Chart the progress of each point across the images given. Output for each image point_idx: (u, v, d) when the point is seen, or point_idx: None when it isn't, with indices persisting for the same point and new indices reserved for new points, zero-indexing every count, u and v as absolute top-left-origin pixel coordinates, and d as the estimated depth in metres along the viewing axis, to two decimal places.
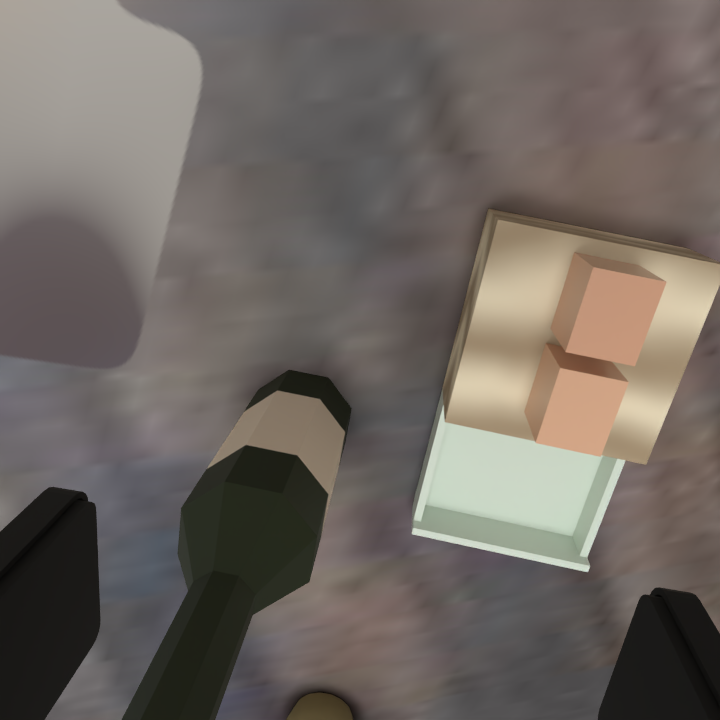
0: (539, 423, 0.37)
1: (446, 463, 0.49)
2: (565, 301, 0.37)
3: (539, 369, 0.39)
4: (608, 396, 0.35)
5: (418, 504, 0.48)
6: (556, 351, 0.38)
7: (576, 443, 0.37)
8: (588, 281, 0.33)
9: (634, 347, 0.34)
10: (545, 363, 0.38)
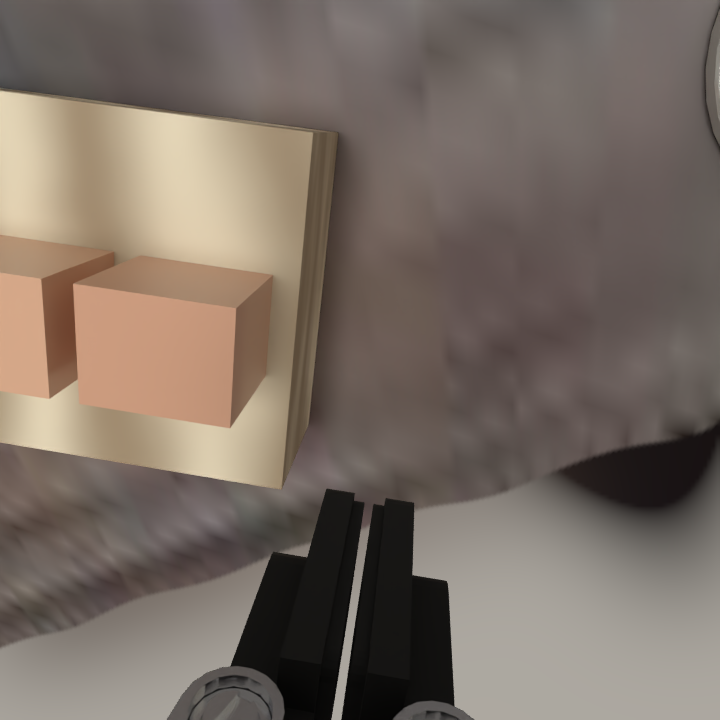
0: None
1: None
2: (183, 272, 0.21)
3: (63, 247, 0.22)
4: (14, 370, 0.19)
5: None
6: (96, 270, 0.21)
7: None
8: (209, 303, 0.18)
9: (110, 397, 0.19)
10: (69, 254, 0.21)
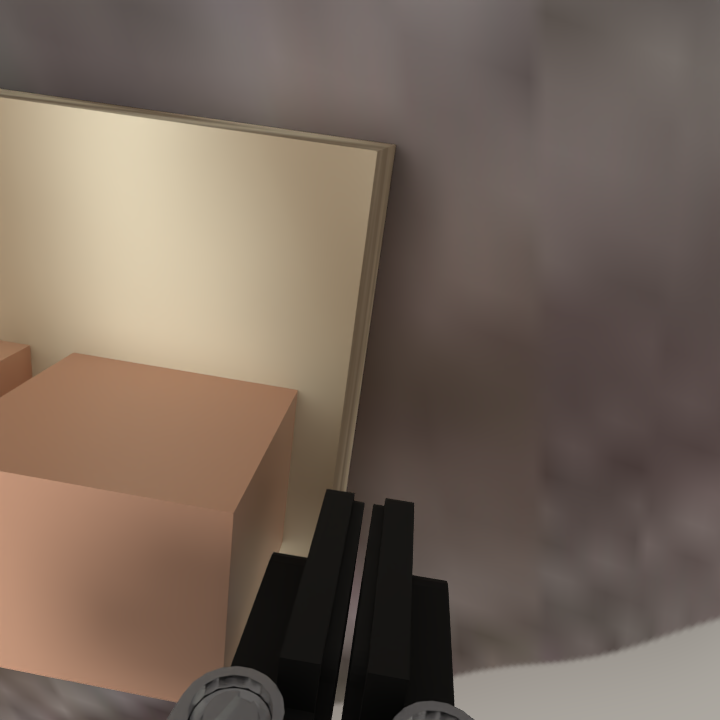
0: None
1: None
2: (141, 396, 0.12)
3: None
4: None
5: None
6: None
7: None
8: (178, 500, 0.09)
9: None
10: None
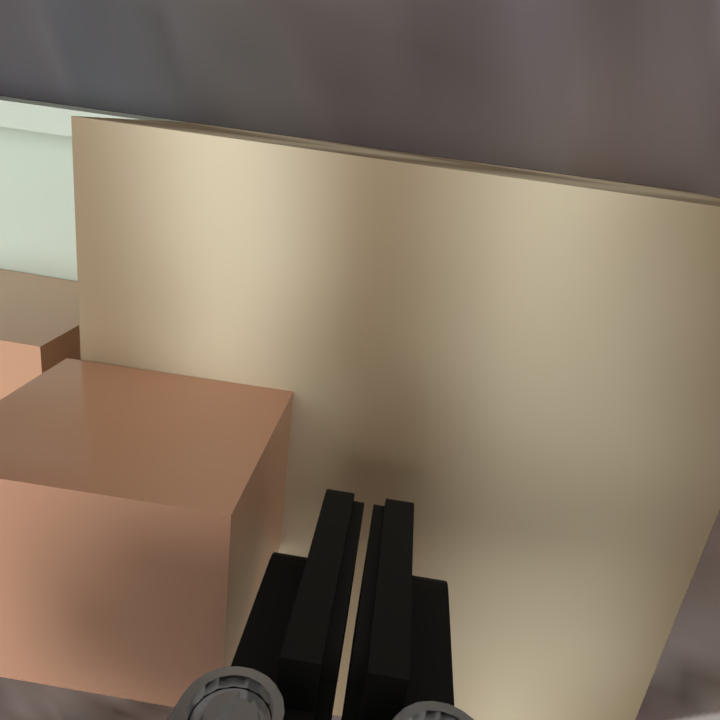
0: None
1: None
2: (136, 400, 0.12)
3: (57, 321, 0.15)
4: None
5: None
6: None
7: None
8: (176, 504, 0.09)
9: None
10: (8, 324, 0.15)
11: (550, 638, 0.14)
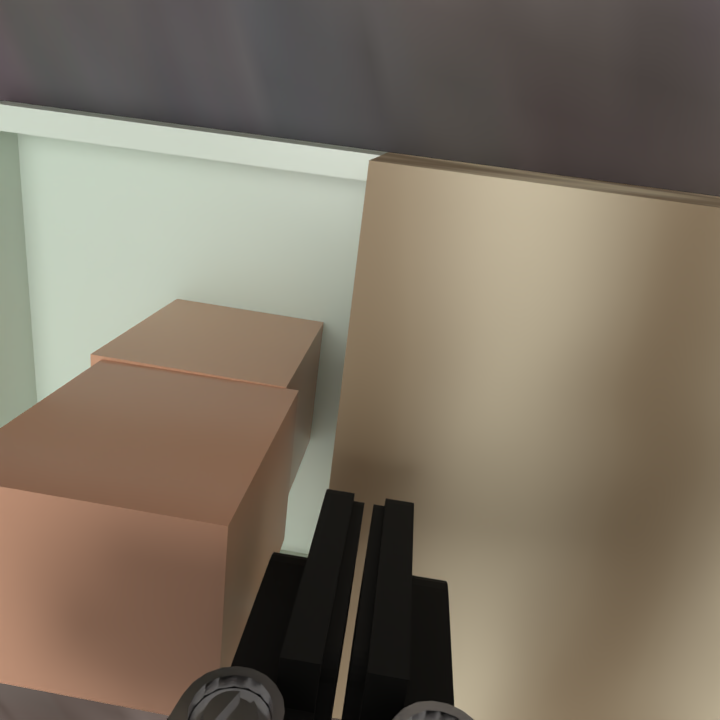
0: (179, 311, 0.17)
1: (164, 188, 0.17)
2: (197, 424, 0.11)
3: (279, 357, 0.15)
4: None
5: (10, 109, 0.14)
6: None
7: None
8: None
9: None
10: (238, 362, 0.14)
11: None
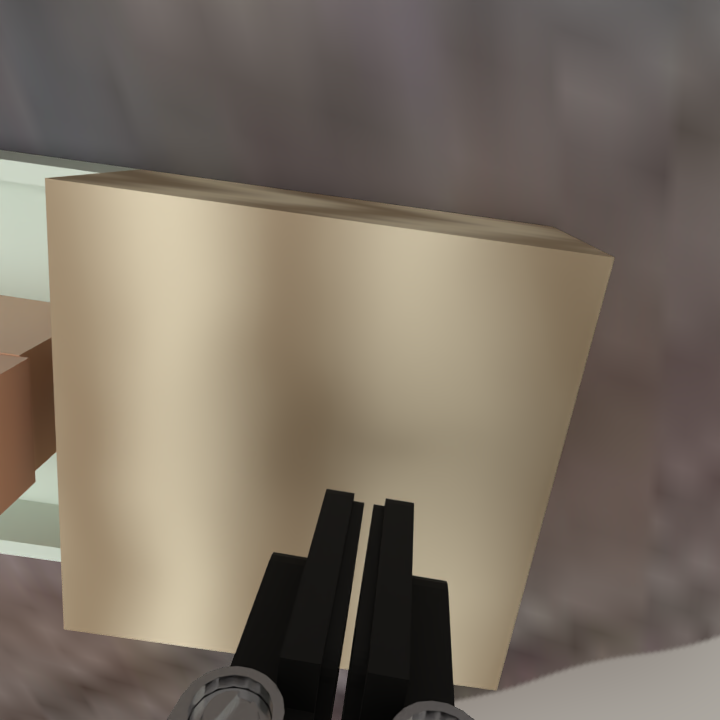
0: None
1: None
2: None
3: (32, 335, 0.18)
4: None
5: None
6: None
7: None
8: None
9: None
10: None
11: None
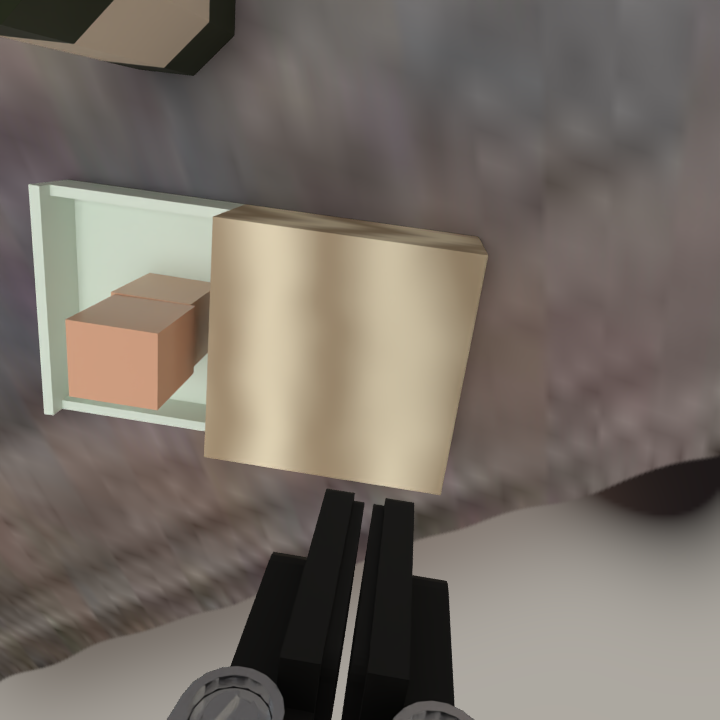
0: (149, 277, 0.37)
1: (142, 220, 0.37)
2: (152, 312, 0.31)
3: (191, 295, 0.35)
4: None
5: (75, 189, 0.34)
6: None
7: None
8: (75, 314, 0.29)
9: None
10: (172, 296, 0.34)
11: (406, 429, 0.34)
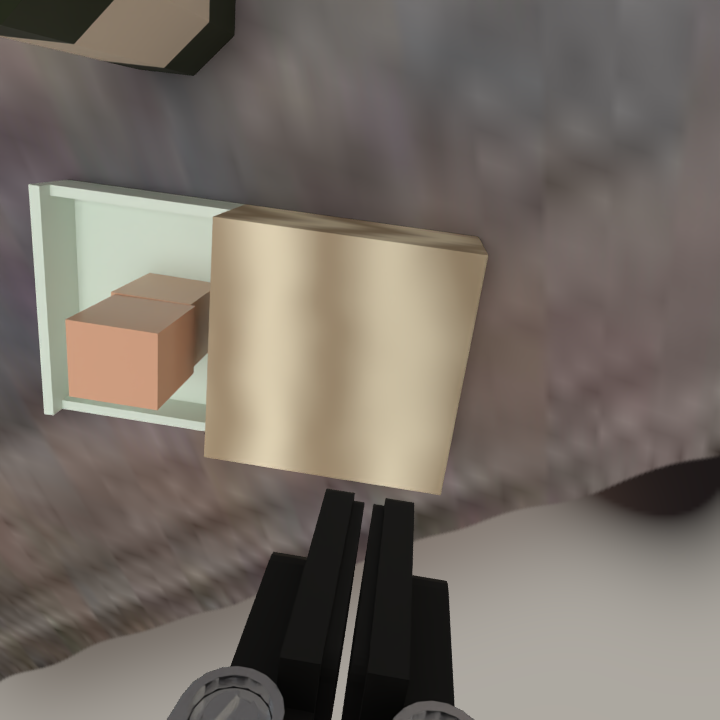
0: (149, 277, 0.37)
1: (142, 220, 0.37)
2: (152, 312, 0.31)
3: (191, 295, 0.35)
4: None
5: (75, 189, 0.34)
6: None
7: None
8: (75, 314, 0.29)
9: None
10: (172, 296, 0.34)
11: (406, 429, 0.34)
